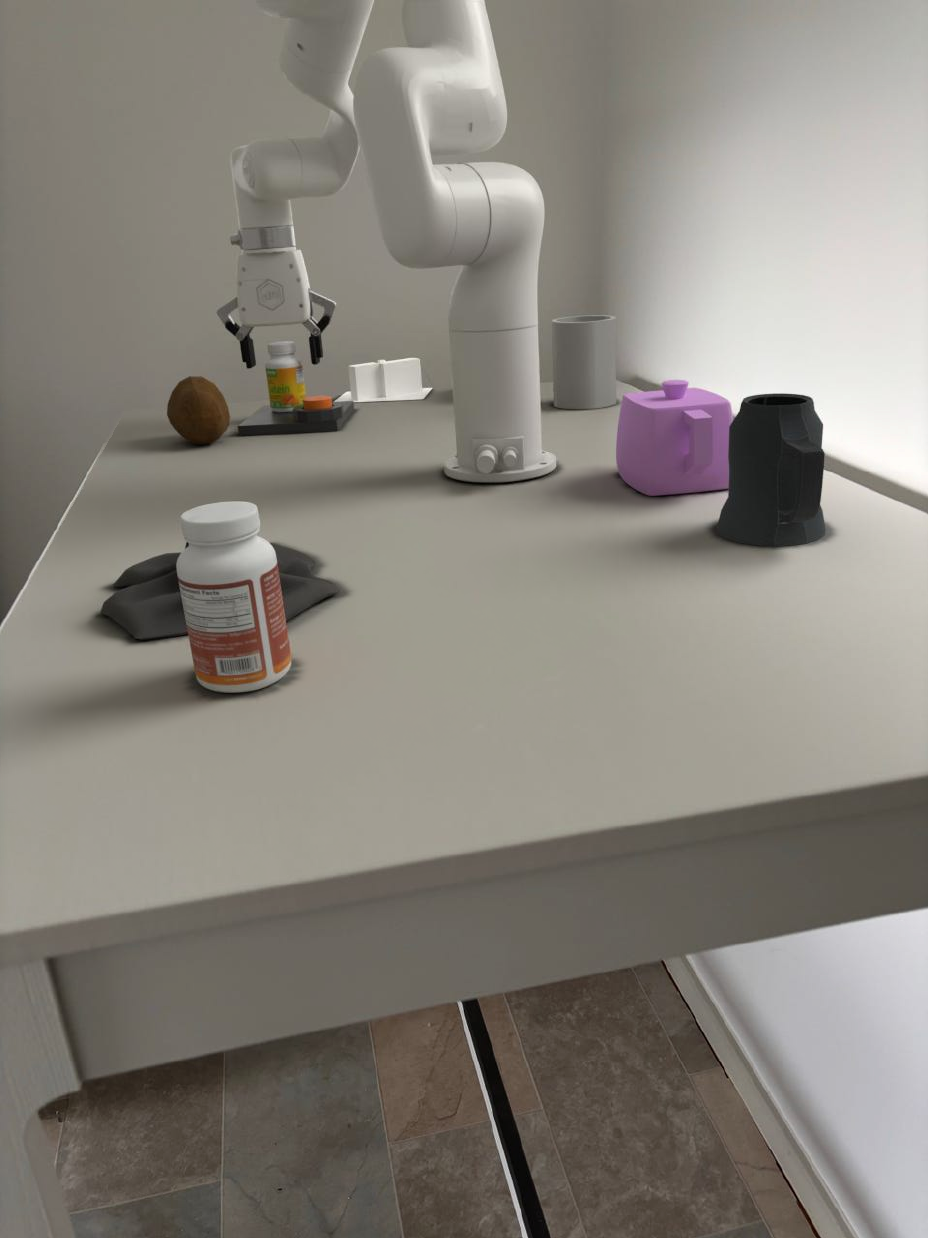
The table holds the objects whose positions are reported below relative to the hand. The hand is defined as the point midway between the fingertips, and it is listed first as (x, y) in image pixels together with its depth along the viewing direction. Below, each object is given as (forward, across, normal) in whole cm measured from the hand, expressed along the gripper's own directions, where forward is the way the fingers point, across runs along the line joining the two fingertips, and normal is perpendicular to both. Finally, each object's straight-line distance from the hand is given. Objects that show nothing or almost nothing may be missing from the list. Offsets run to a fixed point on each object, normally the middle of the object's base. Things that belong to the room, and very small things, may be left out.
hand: (283, 365), depth 150 cm
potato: (+8, -10, -13) cm, 18 cm away
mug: (+8, +56, -67) cm, 88 cm away
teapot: (+8, +50, -47) cm, 69 cm away
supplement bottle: (+7, 0, 0) cm, 7 cm away
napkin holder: (+8, +12, +18) cm, 23 cm away
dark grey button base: (+8, +2, -3) cm, 9 cm away
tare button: (+5, +6, -8) cm, 11 cm away
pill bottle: (+8, +16, -92) cm, 94 cm away
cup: (+8, +44, 0) cm, 45 cm away
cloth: (+8, +10, -75) cm, 76 cm away
